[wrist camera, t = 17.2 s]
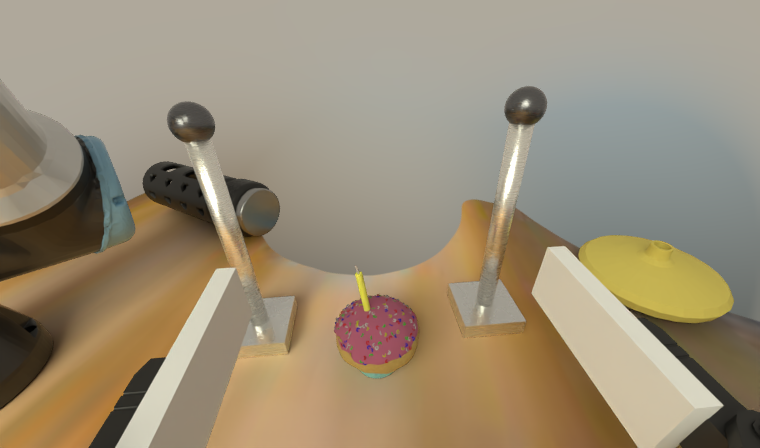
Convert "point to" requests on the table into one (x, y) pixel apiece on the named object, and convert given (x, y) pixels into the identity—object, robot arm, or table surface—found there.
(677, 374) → the robot arm
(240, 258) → the post
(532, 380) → the table surface
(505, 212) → the post
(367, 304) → the cupcake
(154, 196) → the muzzle brake
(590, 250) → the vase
